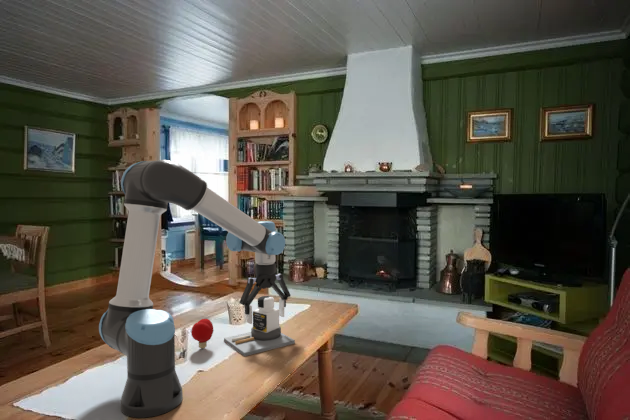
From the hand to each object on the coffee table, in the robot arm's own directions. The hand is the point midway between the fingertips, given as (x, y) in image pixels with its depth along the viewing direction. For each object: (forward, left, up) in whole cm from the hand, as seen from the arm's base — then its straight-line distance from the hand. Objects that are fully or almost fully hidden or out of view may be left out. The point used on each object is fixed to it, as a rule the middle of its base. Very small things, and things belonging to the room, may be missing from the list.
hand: (266, 319), depth 156 cm
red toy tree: (-23, +4, -7) cm, 24 cm away
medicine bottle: (0, 0, -4) cm, 4 cm away
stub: (0, 0, -6) cm, 6 cm away
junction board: (-4, -2, -7) cm, 8 cm away
